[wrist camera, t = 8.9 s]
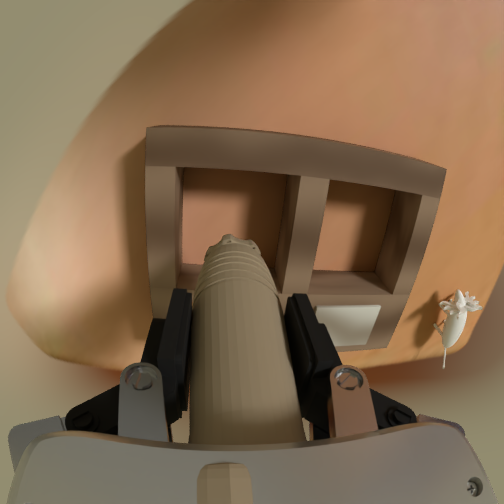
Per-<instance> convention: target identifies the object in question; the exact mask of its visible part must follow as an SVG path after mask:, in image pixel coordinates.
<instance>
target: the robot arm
mask: <svg viewBox="0 0 504 504" xmlns="http://www.w3.org/2000/svg"><path fill="white" fill-rule="evenodd" d="M191 320H192V293H189V292H187V289H180V288H174V289H173V292H172V296H171V300H170V304H169V308H168V312H167V316H166V319H162V318H153V320H152V323H151V326H150V330H149V333H148V337H147V340H146V344H145V348H144V351H143V355H142V359H141V362H140V363H134V364H131V365H129V366H128V367H126V368H125V369H124V370H123V372H122V373H121V377H120V384H119V385H117V386H115V387H113V388H111V389H109V390H107V391H105V392H103V393H101V394H99V395H98V396H96V397H94V398H92V399H90V400H88V401H86V402H84V403H82V404H80V405H78V406H76V407H74V408H72V409H71V410H70V411H69V412H68V413H67V415H66V417H63V418H60V416H54V417H51V418H46V419H42V420H38V421H34V422H29V423H24V424H20V425H17V426H14V427H13V428H12V429H11V431H10V433H9V435H8V442H9V448H10V453H11V458H12V463H13V467H14V471H15V475H14V478H13V481H12V485H11V488H10V491H9V495H8V500H7V504H197V478H198V475H199V472H200V470H201V469H202V468H203V467H204V466H205V465H207V464H216V463H240V464H244V465H245V466H246V467H247V469H248V471H249V474H250V476H251V484H252V494H253V504H499V503H498V501H497V498H496V496H495V493H494V491H493V488H492V486H491V484H490V481H489V479H488V477H487V475H486V472H485V470H484V468H483V466H482V464H481V462H480V460H479V459H478V456H477V454H476V453H475V451H474V449H473V447H472V446H471V445H470V443H469V441H468V440H467V438H466V437H465V432H464V430H463V428H462V427H461V426H460V425H459V424H457V423H455V422H451V421H446V420H442V419H438V418H434V417H430V416H426V415H421V414H419V415H418V416H416V415H415V414H414V412H413V411H412V410H411V409H410V408H408V407H407V406H405V405H403V404H401V403H398V402H397V401H395V400H392V399H390V398H388V397H386V396H384V395H382V394H380V393H378V392H376V391H374V390H372V389H370V388H369V385H368V381H367V378H366V376H365V374H364V373H363V372H362V371H361V370H360V369H358V368H356V367H354V366H350V365H342V363H341V360H340V358H339V356H338V353H337V351H336V348H335V346H334V344H333V341H332V339H331V337H330V334H329V332H328V330H327V327H326V326H325V324H324V323H319V322H318V320H317V317H316V315H315V312H314V310H313V308H312V305H311V303H310V300H309V298H308V296H307V294H305V293H293V294H292V297H288V298H287V303H286V308H285V313H284V320H285V325H286V331H287V337H288V343H289V348H290V354H291V360H292V366H293V372H294V377H295V383H296V388H297V394H298V400H299V405H300V411H301V417H302V418H305V419H306V420H308V421H309V439H310V440H309V441H303V442H293V443H279V444H260V445H207V444H187V443H175V442H173V436H172V428H171V424H172V423H174V422H175V421H176V420H178V419H179V418H182V411H187V409H188V396H189V384H190V345H191Z"/></svg>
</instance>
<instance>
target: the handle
mask: <svg viewBox="0 0 504 504" xmlns="http://www.w3.org/2000/svg"><path fill="white" fill-rule="evenodd" d="M260 255H261V252H260V250H259V248H258V246H257V245H256V244H255V242H253V241H252V240H241V239H238V238H236V237H234V236H232V234H227V235H224V236H223V237H222V239H221V241H220V242H219V243H218V244H216V245H214V246H210V247H209V249H208V250H207V252H206V255H205V258H204V261H205V262H204V264H203V266H202V268H201V271H200V274H199V277H198V281H197V284H196V288H195V292H194V298H193V305H192V320H191V345H190V435H189V442H188V444H207V445H260V444H279V443H293V442H303V441H307V440H306V437H305V432H304V428H303V422H302V417H301V411H300V405H299V400H298V394H297V388H296V383H295V377H294V372H293V366H292V360H291V354H290V348H289V343H288V337H287V331H286V325H285V320H284V314H283V309H282V306H281V302H280V299H279V296H278V292H277V289H276V286H275V283H274V281H273V278H272V276H271V274H270V271H269V269H268V267H267V265H266V263H265V262H264V260H263V258H262V257H261V256H260ZM197 504H253V494H252V484H251V476H250V474H249V471H248V469H247V467H246V466H245V465H244V464H240V463H216V464H207V465H205V466H204V467H203V468H202V469H201V470H200V472H199V475H198V478H197Z"/></svg>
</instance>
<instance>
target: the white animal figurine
mask: <svg viewBox="0 0 504 504" xmlns="http://www.w3.org/2000/svg"><path fill="white" fill-rule="evenodd" d="M468 293H469V292H466V293H465V296H464V297H465V298H464V297H463V294H462V293H461V291H460V290H459V289H458V290H456V293H455V298H454V301H453V302H452V299H450V300H449V302H447V301H442V302H440V303H439V304H438V305H439V306H440V307H441V308H442V310H443V311H444V312H445V313H446V314H447V315H448V316H447V318H446V320H444V321H443V323H444V327H443V332H442V331H441V330H440V329H439V328H438V326H437V325H436V323H434V324H433V326H434V327H435V328H436V330H437V331H438V332H439V333H440V335H441V336H442V344H443V346H444V347H445V349H444V362H443V366H442V367H443V369H444V367H445V365H444V364H445V353H446V348H449V347H451V346H452V345H453V344H454V343H455V342H456V341H457V340H458V338H459V336H460V335H461V333H462V330H463V328H464V325H465V322H466V317H467V311H471V312H472V311H476V310H478V309H480V310H482V307H481V306H479V305H476V304H479V301H473V299H475V296H472V297H470V299H469V295H468ZM443 305H445V307H444V306H443ZM447 310H450V312H448V311H447Z"/></svg>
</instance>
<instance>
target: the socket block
mask: <svg viewBox="0 0 504 504" xmlns="http://www.w3.org/2000/svg"><path fill="white" fill-rule="evenodd" d="M184 167H196V168H216V169H232V170H246V171H258V172H270V173H280V174H288V176H287V184H286V191H285V199H284V206H283V213H282V220H281V227H280V234H279V241H278V248H277V255H276V261H275V268H268V269H269V271H270V274H271V276H272V278H273V281H274V283H275V286H276V289H277V292H278V296H279V299H280V302H281V306H282V309H283V314H284V313H285V308H286V303H287V298H288V297H292V294H293V293H305V294H307V296H308V298H309V300H310V303H311V305H312V308H313V310H314V312H315V315H316V317H317V320H318V322H319V323H324V324H325V326H326V327H327V330H328V332H329V334H330V337H331V339H332V341H333V344H334V346H335V348H336V351H337V352H344V351H358V350H370V349H380V348H387V346H388V344H389V342H390V339H391V337H392V335H393V333H394V331H395V328H396V326H397V324H398V322H399V319H400V317H401V315H402V312H403V310H404V307H405V305H406V303H407V300H408V298H409V295H410V293H411V290H412V287H413V285H414V282H415V279H416V277H417V274H418V271H419V268H420V265H421V262H422V259H423V256H424V253H425V250H426V247H427V244H428V241H429V238H430V234H431V231H432V227H433V224H434V220H435V217H436V213H437V209H438V205H439V201H440V197H441V193H442V189H443V184H444V180H445V175H446V170H447V169H445V168H442V167H439V166H437V165H434V164H431V163H428V162H425V161H422V160H419V159H416V158H412V157H408V156H404V155H400V154H396V153H392V152H388V151H384V150H379V149H375V148H370V147H365V146H361V145H356V144H351V143H345V142H340V141H334V140H328V139H322V138H316V137H310V136H303V135H296V134H288V133H280V132H271V131H262V130H251V129H240V128H226V127H208V126H175V125H160V126H153V127H147V128H146V153H145V212H146V239H147V256H148V271H149V283H150V294H151V304H152V313H153V318H162V319H166V316H167V312H168V308H169V304H170V300H171V296H172V292H173V289H174V288H180V289H187V292H189V293H192V305H193V298H194V292H195V288H196V284H197V281H198V277H199V274H200V271H201V268H202V266H203V265H196V264H182V208H183V175H184ZM330 179H331V180H338V181H345V182H352V183H358V184H365V185H371V186H377V187H383V188H389V189H394V190H396V192H395V196H394V201H393V205H392V209H391V213H390V217H389V222H388V225H387V229H386V233H385V237H384V241H383V244H382V248H381V251H380V255H379V258H378V262H377V265H376V268H375V272H352V271H325V270H313V266H314V261H315V256H316V251H317V246H318V241H319V236H320V231H321V226H322V221H323V216H324V210H325V205H326V199H327V193H328V187H329V182H330Z"/></svg>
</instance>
